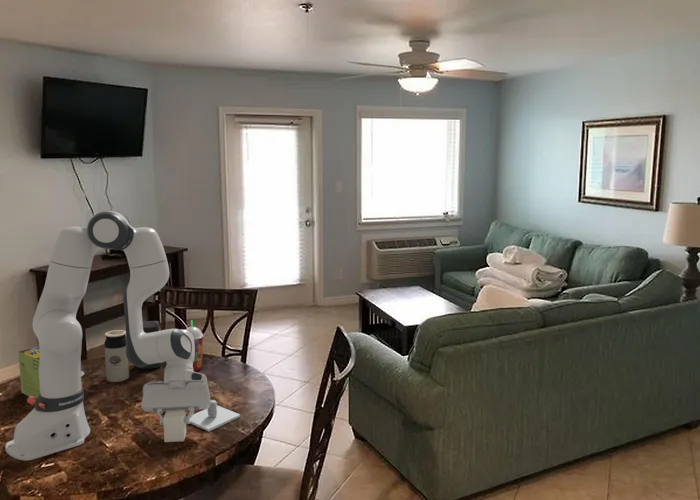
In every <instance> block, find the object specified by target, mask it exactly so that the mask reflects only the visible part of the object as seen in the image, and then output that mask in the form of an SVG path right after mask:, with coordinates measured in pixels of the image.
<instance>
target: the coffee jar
mask: <svg viewBox="0 0 700 500" xmlns="http://www.w3.org/2000/svg"><path fill="white" fill-rule="evenodd" d="M142 322H143V331H144V332H145V333H152V332H157V331H161V326H160V321H158V320H149V321H148V320H147V321H142ZM162 364H163V362H161V363H155V364H151V365H147V366H144V367H137V366H136V368H137V369H139V370H149V369H150V370H151V369H157V368H159V367H161V366H162Z"/></svg>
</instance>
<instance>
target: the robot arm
mask: <svg viewBox="0 0 700 500" xmlns="http://www.w3.org/2000/svg"><path fill="white" fill-rule="evenodd" d="M98 249H106V250H119V251H123V252H124V254H125V256H126V259H127V262H128V263H127V264H128V267H129V273H130V276H129V282H128V284H127V285H126V286H125V287H124V291H123V308H124V323H125V331H126V334H125V337H126V356H127V359H128V362H130V363H131V364H132V365H134V366H136V368H137V367H144V366H147V365H151V364H155V363H161V362H162V363H165V362H166V365H165V368H164V373H163V380H156V381H153V380H150V381H148V382H146V383H144V384H143V387H142V399H141V403H140V405H141V409H142V410H143V412H146V413H151V412H152V413H153V412H156V413H157V415H158V417H159V425H160V426H164V420H163V418H164V417H163V416H162V415H163V414H164V412H166V410H180V409H186V411H188V414H187V416H185V417H184V419H185V420H184V424H186V425H188V424H191V423H190V418H191V417H192V415H193V414H195V410H205V409H208V408H209V407H210V400H211V395H210V388H209V386H208V378H207V376H206V374H204V373H201V372H197V371H193V362H194V356H195V345H194V337H193V335H192V333H191V332H189V331H187V330H186V329H182V328H181V329H179V328H169V329H167V328H166V329H162V330H160V331H157V332H152V333H145V332H144V331H143V322H144V321H143V312H142V311H143V310H142V307H143V305H144V304H143V303H144V302H145V301H146V300H147V299H148V298H149V297H151V296H152V295H154V294H155V293H157V292H158V291H160V290H162V289H163V288H164V286H165V285H166V284H167V283H168V281H169V278H170V267H169V266H170V265H169V263H168V258H167V255H166V252H165V247H164V245H163V242H162V241H161V238H160V236H159V233H158V232H157V231H156V230H155V229H153V228H152V227H147V226H141V227H133V226H131V224H130V221H129V218H128V217H127V216H126V215H125V214H124V213H122V212H120V211H118V210H114V209H105V210H102V211H99V212H98V213H96V214H94V215H93V216H92V217H91V218H90V220H89V221H88V224H87V225H86V226H77V225H74V226H73V225H72V226H67V227H65V228H62V230H61V231H60V232H59V234H58V236H57V238H56V241H55V243H54V246H53V249H52V252H51V255H50V260H49V264H48V270H47V274H46V278H45V281H44V282H45V283H44V285H43V286H44V287H43V289H42V292H41V295H40V297H39V301H38V303H37V307H36V309H35V313H34V316H33V318H32V330H33V333H34V335H35V336H36V338H37V340H38V343H39V344H38V345H39V346H40V360H39V382H40V394H39V396H38V398H37V399H36V398H34V397H33V396H30V397H29V396H28V398H26V401H27V403H28V404H30V405H34V407H33V409H31V411H30V412H29V413H28V414H27V415H26V416H25V417H24V418H22V419H21V421H20V422H18V423H17V424H16V426H15V428H14V432H13V439H12V440H9V441H7V442H6V444H5V447H4V449H5V453H7V455H8V456H10V457H12V458H14V459H16V460H20V461H25V462H27V461H32V460H33V461H34V460H36V459H39V458H43V457H46V456H49V455H52V454H54V453H58V452H61V451H65V450H69V449H71V448H75V447H79V446H81V445H82V444H83V445H84V444H85V439H86V438H87V437H88V436H89V435H90V433H91V428H90V426H89V423H88V420H87V417H86V413H85V407H84V404H85V394H84V387H83V386H82V376H81V371H82V369H81V370H80V363H81V362H80V358H81V356H82V344H83V343H82V342H83V341H82V340H83V328H82V325H81V324H80V322H79V321H78V320H77V313H78V309H79V307H80V305H81V303H82V300H83V297H85V294H86V293H87V288H88V283H89V279H90V275H91V270H92V264H93V260H94V257H95V254H96V251H97V250H98ZM39 346H38V347H39Z"/></svg>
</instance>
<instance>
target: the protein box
mask: <svg viewBox="0 0 700 500" xmlns="http://www.w3.org/2000/svg"><path fill="white" fill-rule="evenodd" d="M39 360H40V346H35V347H30V348H27V349H23V350H19V351H18V363H19V364H18V365H19V378H20V390H21V391H20V392H21V394H24V395H25V396H27V397H28V398H29V397H30V396H33V397H34V398H36V399H37V398H38V396H39V394H40V382H39Z"/></svg>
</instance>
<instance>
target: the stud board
mask: <svg viewBox="0 0 700 500" xmlns="http://www.w3.org/2000/svg"><path fill="white" fill-rule="evenodd" d="M239 418H241V414H240V413H238V412H235V411H233V410H230V409H227V408H225V407H222V406H221V405H218V402H217V400H216V399H210V407H209V408H208V409H201V410H200V411H198V412H196V413H195V412H194V414H193V415H192V417H191V418H190V423H189V424H191V425H193V426H195V427H197V428H199V429H202V430H205V431H207V432H211V431H214V430H215V429H218V428H220V427H222V426H224V425H226V424H228V423H230V422H233V421H235V420H237V419H239Z"/></svg>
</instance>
